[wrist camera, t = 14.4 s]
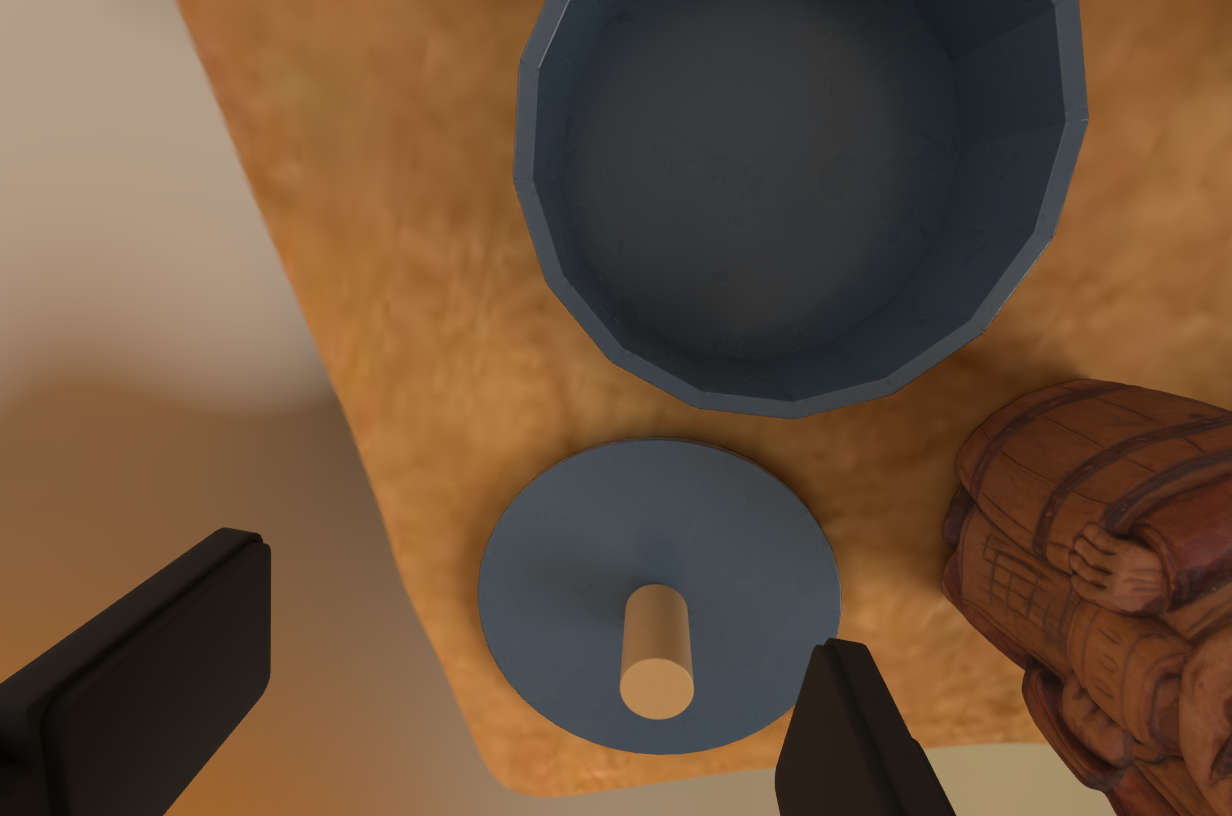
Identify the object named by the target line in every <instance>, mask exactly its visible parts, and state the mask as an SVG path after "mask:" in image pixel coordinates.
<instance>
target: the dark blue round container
mask: <svg viewBox="0 0 1232 816" xmlns="http://www.w3.org/2000/svg"><path fill="white" fill-rule="evenodd" d="M1088 118H1089V116H1088V104H1087V92H1086V80H1085V68H1084V56H1083V44H1082V33H1081V21H1080V9H1079V0H546V1H545V3H544V6H543V8H542V10H541V12H540V15H539V17H538V19H537V22H536V24H535V26H534V28H533V31H532V33H531V35H530V38H529V40H528V42H527V44H526V47H525V49H524V51H523V54H522V56H521V58H520V63H519V71H518V90H517V109H516V128H515V147H514V166H513V179H514V185H515V188H516V191H517V194H518V198H519V201H520V204H521V207H522V210H523V213H524V216H525V219H526V222H527V226H528V229H529V232H530V235H531V238H532V241H533V244H534V247H535V250H536V254H537V257H538V260H539V263H540V266H541V269H542V272H543V275H544V278H545V281H546V282H547V285H548V286H549V288H550V289H551V290H552V291H553V292H554V294H555V295H556V296H557V297H558V299H559V300H560V301H561V302H562V303H563V305H564V306H565V307H566V308H567V310H568V311H569V312H570V313H571V314H572V316H573V317H574V318H575V319H576V320H577V322H578V323H579V324H580V325H581V327H582V328H583V329H584V330H585V331H586V333H587V334H588V335H589V336H590V338H591V339H592V340H593V341H594V342H595V344H596V345H597V346H598V347H599V349H600V350H601V351H602V352H603V353H604V355H605V356H606V357H607V358H608V360H610V361H611V362H612V363H614V364H616V365H617V366H619V367H621V368H623V369H625V370H627V371H628V372H630V373H632V374H634V375H636V376H638V377H639V378H641V379H643V380H645V381H647V382H649V383H650V384H652V385H654V386H656V387H658V388H660V389H661V390H663V391H665V392H667V393H669V394H671V395H672V396H674V397H676V398H678V399H680V400H682V401H684V402H685V403H687V404H689V405H691V406H693V407H696V408H699V409H707V410H716V411H724V412H733V413H742V414H750V415H759V416H767V417H776V418H784V419H798V418H802V417H806V416H810V415H814V414H818V413H822V412H826V411H830V410H833V409H837V408H841V407H845V406H849V405H853V404H857V403H861V402H865V401H869V400H873V399H877V398H881V397H885V396H888V395H892V393H895V392H897V391H898V390H900V389H901V388H903V387H904V386H906V385H907V384H909V383H910V382H912V381H913V380H915V379H916V378H918V377H919V376H920V375H922V374H923V373H925V372H926V371H928V370H929V369H931V368H932V367H934V366H935V365H937V364H938V363H940V362H941V361H943V360H944V359H945V358H947V357H948V356H950V355H951V354H953V353H954V352H956V351H957V350H959V349H960V348H962V347H963V346H965V345H966V344H968V343H969V342H971V341H972V340H973V339H975V338H976V337H978V336H979V335H981V334H982V333H983V332H984V331H985V330H986V329H987V327H988V326H989V325H990V323H991V322H992V321H993V319H994V318H995V316H996V315H997V314H998V312H999V311H1000V310H1001V308H1002V307H1003V306H1004V304H1005V303H1006V302H1007V300H1008V299H1009V298H1010V296H1011V295H1012V293H1013V292H1014V291H1015V289H1016V288H1017V287H1018V285H1019V284H1020V283H1021V281H1022V280H1023V279H1024V277H1025V276H1026V275H1027V273H1028V272H1029V270H1030V269H1031V268H1032V266H1033V265H1034V264H1035V262H1036V261H1037V260H1038V258H1039V257H1040V256H1041V254H1042V253H1043V252H1044V250H1045V249H1046V247H1047V246H1048V245H1049V243H1050V242H1051V241H1052V238H1053V237H1054V235H1055V232H1056V228H1057V225H1058V222H1059V218H1060V215H1061V212H1062V208H1063V205H1064V202H1065V198H1066V195H1067V192H1068V188H1069V185H1070V182H1071V178H1072V175H1073V172H1074V168H1075V165H1076V162H1077V158H1078V155H1079V152H1080V148H1081V145H1082V142H1083V138H1084V135H1085V132H1086V128H1087V125H1088V121H1087V120H1088Z"/></svg>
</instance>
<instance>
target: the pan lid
mask: <svg viewBox="0 0 1232 816" xmlns="http://www.w3.org/2000/svg"><path fill="white" fill-rule="evenodd" d="M478 608H479V613H480V619H481V625H482V629H483V632H484V635H485V638H486V641H487V644H488V647H489V649H490V651H491V653H492V655H493V657H494V660H495V662H496V664H497V666H498V667H499V669H500V670H501V672H502V673H503V675H504V676H505V678H506V679H507V681H508V682H509V683H510V684H511V686H512V687H513V688H514V689H515V690H516V691H517V692H518V694H519V695H520V696H521V697H522V698H523V699H524V700H525V701H526V702H527V703H528V704H530V705H531V706H532V707H533V708H534V709H535V710H536V711H537V712H539V713H540V714H541V715H543V716H544V717H546V718H547V719H548V720H550V721H551V722H553V723H554V724H556V725H557V726H559V727H561V728H563V729H565V730H566V731H568V732H570V733H572V734H574V735H576V736H578V737H581V738H583V739H586V740H588V741H591V742H593V743H596V744H599V745H603V746H606V747H609V748H613V749H617V750H623V751H628V752H633V753H643V754H655V755H666V754H685V753H692V752H700V751H705V750H709V749H713V748H717V747H721V746H724V745H727V744H730V743H733V742H735V741H738V740H741V739H743V738H745V737H747V736H749V735H751V734H753V733H755V732H757V731H759V730H761V729H763V728H765V727H766V726H768V725H769V724H771V723H772V722H774V721H775V720H777V719H778V718H780V717H781V716H782V715H783V714H785V713H786V712H787V711H788V710H789V709H791V708H792V707H793V706H794V705H795V704H796V702H797V699H798V696H799V693H800V689H801V686H802V683H803V680H804V677H805V673H806V670H807V667H808V664H809V661H810V657H811V654H812V651H813V649H814V647H815V646H816V645H824V644H825V642H826V641H827V639H829V638H835V639H836V636H837V633H838V627H839V621H840V615H841V586H840V579H839V572H838V568H837V564H836V561H835V558H834V555H833V551H832V548H831V546H830V544H829V542H828V540H827V538H826V536H825V534H824V532H823V530H822V528H821V526H820V524H819V523H818V521H817V520H816V518H815V517H814V515H813V514H812V512H811V511H810V509H809V508H808V506H807V505H806V504H805V503H804V502H803V501H802V500H801V499H800V497H799V496H798V495H797V494H796V493H795V492H794V491H793V490H792V489H791V488H790V487H789V486H788V485H787V484H785V483H784V482H783V481H782V480H781V479H779V478H778V477H777V476H776V475H774V474H773V473H772V472H770V471H769V470H767V469H765V468H764V467H762V466H761V465H759V464H757V463H756V462H754V461H753V460H751V459H749V458H746V457H744V456H742V455H740V454H738V453H735V452H733V451H731V450H729V449H726V448H722V447H719V446H716V445H713V444H710V443H706V442H702V441H696V440H691V439H685V438H679V437H661V436H650V437H635V438H626V439H621V440H616V441H611V442H606V443H602V444H599V445H596V446H593V447H590V448H587V449H584V450H581V451H579V452H577V453H575V454H573V455H571V456H569V457H567V458H564V459H562V460H560V461H559V462H557V463H555V464H554V465H552V466H551V467H549V468H548V469H546V470H545V471H543V472H542V473H540V474H539V475H538V476H537V477H536V478H534V479H533V480H532V481H531V482H530V483H529V484H528V485H526V486H525V487H524V488H523V489H522V490H521V491H520V492H519V494H518V495H517V496H516V497H515V498H514V499H513V501H512V502H511V503H510V504H509V505H508V507H507V508H506V510H505V511H504V513H503V514H502V516H501V518H500V519H499V521H498V522H497V524H496V526H495V528H494V530H493V532H492V534H491V537H490V539H489V541H488V543H487V546H486V548H485V552H484V556H483V559H482V563H481V566H480V574H479V582H478Z"/></svg>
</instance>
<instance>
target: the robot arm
mask: <svg viewBox="0 0 1232 816" xmlns="http://www.w3.org/2000/svg"><path fill="white" fill-rule="evenodd" d="M270 649H271V549H270V547H269V545H268V544H264V543H263V539H262V537H261V535H259V534H258V533H253V532H248V531H242V530H237V529H232V528H221V529H219V530H217V531H215V532H214V533H213V534H211V535H210V536H208V537H207V538H205V539H204V540H203V541H201V542H200V543H198V544H197V545H195V546H194V547H193V548H191V549H190V550H188V551H187V552H186V553H184V554H183V555H181V556H180V557H179V558H177V559H176V560H174V561H173V562H171V563H170V564H169V565H167V566H166V567H165V568H163V569H162V570H160V571H159V572H157V573H156V574H155V575H153V576H152V577H150V578H149V579H147V580H146V581H145V582H143V583H142V584H140V585H139V586H138V587H136V588H135V589H133V590H132V591H131V592H129V593H128V594H126V595H125V596H124V597H122V598H121V599H119V600H118V601H116V602H115V603H114V604H112V605H111V606H109V607H108V608H107V609H105V610H104V611H103V612H101V613H100V614H98V615H97V616H95V617H94V618H92V619H91V620H90V621H88V622H87V623H85V624H84V625H83V626H81V627H80V628H78V629H77V630H76V631H74V632H73V633H71V634H70V635H68V636H67V637H66V638H64V639H63V640H61V641H60V642H59V643H57V644H56V645H54V646H53V647H52V648H50V649H49V650H47V651H46V652H45V653H43V654H42V655H40V656H39V657H38V658H36V659H35V660H34V661H32V662H31V663H29V664H28V665H26V666H25V667H24V668H22V669H21V670H19V671H18V672H16V673H15V674H14V675H12V676H11V677H9V678H8V679H6V680H5V681H4V682H2V683H1V684H0V816H163V815H164V814H165V813H166V811H167V810H168V809H169V808H170V806H171V805H172V804H173V803H174V802H175V800H176V799H177V798H178V797H179V796H180V794H181V793H182V792H183V791H184V790H185V788H186V787H187V786H188V785H189V783H190V782H191V781H192V780H193V779H194V777H195V776H196V775H197V774H198V773H199V771H200V770H201V769H202V768H203V766H204V765H205V764H206V763H207V762H208V760H209V759H210V758H211V757H212V756H213V754H214V753H215V752H216V751H217V749H218V748H219V747H220V746H221V745H222V744H223V742H224V741H225V740H226V739H227V737H228V736H229V735H230V734H231V733H232V731H233V730H234V729H235V728H236V727H237V725H238V724H239V723H240V722H241V720H242V719H243V718H244V717H245V716H246V714H247V713H248V712H249V711H250V710H251V708H252V707H253V706H254V705H255V704H256V702H257V701H258V700H259V699H260V697H261V696H262V695H263V693H264V691H265V689H266V687H267V684H268V682H269V678H270V662H271V661H270V660H271V659H270V658H271V657H270V655H271V652H270V651H271V650H270ZM775 791H776V797H777V801H778V806H779V811H780V815H781V816H956V814H955V812H954V810H953V808H952V806H951V804H950V802H949V800H948V798H947V796H946V794H945V792H944V790H943V788H942V786H941V784H940V782H939V780H938V778H937V777H936V775H935V773H934V770H933V768H932V766H931V764H930V762H929V760H928V758H927V756H926V754H925V752H924V750H923V749H922V747H921V746H920V744H919V743H918V741H916V740H915V739H913V738H912V737H911V735H910V733H909V731H908V729H907V727H906V725H905V723H904V721H903V719H902V716H901V714H900V712H899V710H898V708H897V706H896V704H895V702H894V700H893V698H892V696H891V694H890V692H889V690H888V688H887V686H886V684H885V682H884V680H883V678H882V676H881V674H880V672H879V670H878V668H877V666H876V664H875V662H874V660H873V658H872V656H871V654H870V652H869V650H868V648H867V647H866V645H864V644H862V643H857V642H851V641H846V640H841V639H835V638H829V639H827V641H826V642H825V644H824V645H816V646H815V647H814V649H813V651H812V654H811V657H810V661H809V664H808V667H807V670H806V673H805V677H804V680H803V683H802V686H801V689H800V693H799V696H798V699H797V702H796V705H795V709H794V712H793V715H792V718H791V721H790V724H789V728H788V731H787V734H786V737H785V740H784V744H783V747H782V750H781V753H780V756H779V760H778V763H777V766H776V772H775Z"/></svg>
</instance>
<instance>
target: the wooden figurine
mask: <svg viewBox="0 0 1232 816" xmlns="http://www.w3.org/2000/svg"><path fill="white" fill-rule="evenodd" d="M955 468H956V470H957V475H958V476H959V478H960V480H961V481H962V484H961V486H960V488H959V490H958V492H957V493H956V495H955V496H954V498H953V500H952V501H951V504H950V510H949V513H948V515H947V517H946V519H945V521H944V524H943V527H942V535H943V539H944V541H945V542H946V544H947V545H948V546H949V547H950V548H952V549H953V550H954V553H953V554H952V555H951V557H950V558H949V560H948V561H947V563H946V566H945V570H944V574H943V577H942V580H941V586H942V592H943V594H944V595H945V596H946V598H947V599H948V600H949V601H950V602H951V603H952V604H953V605H954V606H955V607H956V608H957V609H958V610H959V611H960V612H961V613H962V614H963V616H964V617H965V618H966V619H967V620H968V622H969V623H970V624H971V625H972V626H973V627H974V628H975V629H976V630H978V631H979V632H980V633H981V634H982V635H983V636H984V637H985V638H986V639H987V640H988V641H989V642H991V643H992V644H993V645H994V646H995V647H996V648H997V649H998V650H999V651H1001V652H1002V653H1003V654H1004V655H1005V656H1007V657H1008V658H1009V659H1010V660H1012V661H1013V662H1014V663H1016V664H1017V665H1018V666H1020V667H1021V668H1022V669H1024V670H1025V674H1024V677H1023V683H1022V694H1023V698H1024V700H1025V703H1026V705H1027V707H1028V710H1029V713H1030V715H1031V717H1032V719H1033V721H1034V722H1035V724H1036V726H1037V727H1038V728H1039V730H1040V731H1041V733H1042V734H1043V735H1044V737H1045V738H1046V740H1047V741H1048V742H1049V744H1050V745H1051V746H1052V748H1053V749H1054V750H1055V752H1056V753H1057V754H1058V756H1059V757H1060V758H1061V759H1062V761H1063V762H1064V763H1065V764H1066V766H1067V767H1068V768H1069V769H1070V770H1071V772H1072V773H1073V774H1074V775H1075V777H1076V778H1077V779H1078V780H1079V781H1080V782H1081V783H1082V784H1083V785H1085V786H1087V787H1089V788H1091V789H1095V790H1099V791H1101V792H1103V793H1104V794H1105V795H1106V797H1107V798H1108V800H1109V802H1110V804H1111V805H1112V807H1113V809H1114V811H1115V813H1116V814H1117V816H1232V411H1229V410H1226V409H1222V408H1219V407H1216V406H1213V405H1210V404H1207V403H1204V402H1200V401H1197V400H1194V399H1190V398H1186V397H1182V396H1178V395H1173V394H1169V393H1166V392H1162V391H1157V390H1151V389H1146V388H1142V387H1139V386H1134V385H1126V384H1122V383H1116V382H1109V381H1101V380H1093V379H1083V380H1076V381H1072V382H1067V383H1063V384H1060V385H1057V386H1054V387H1050V388H1047V389H1044V390H1041V391H1036V392H1032V393H1029V394H1027V395H1025V396H1023V397H1021V398H1019V399H1017V400H1016V401H1015V402H1014V403H1012V404H1010V405H1009V406H1007V407H1005V408H1003V409H1001V410H999V411H997V412H996V413H994V414H993V415H992V416H991V417H990V418H989V419H988V420H987V421H986V422H984V423H983V424H982V425H981V426H980V427H979V428H978V429H977V430H976V431H975V432H974V433H973V434H972V436H971V437H970V438H969V439H968V440H967V441H966V442H965V444H964V445H963V447H962V448H961V450H960V452H959V455H958V457H957V459H956V462H955Z"/></svg>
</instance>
